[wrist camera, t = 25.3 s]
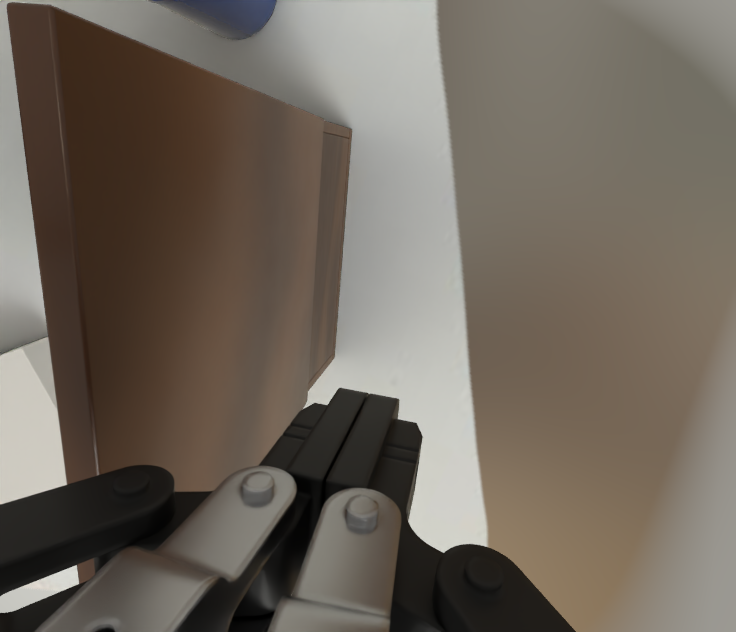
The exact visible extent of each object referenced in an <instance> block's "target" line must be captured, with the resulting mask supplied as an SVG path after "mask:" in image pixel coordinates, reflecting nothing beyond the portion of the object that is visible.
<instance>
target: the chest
mask: <svg viewBox="0 0 736 632" xmlns="http://www.w3.org/2000/svg"><path fill="white" fill-rule="evenodd" d="M351 138H352V129H349V128H346V127H343V126H340V125H337V124H334V123H331V122H327V121H324V129H323V146H322V163H321V180H320V196H319V213H318V230H317V246H316V263H315V280H314V296H313V313H312V330H311V346H310V363H309V380H308V391H309V389H310V388H311V387H312V386H313V384H314V383H315V382H316V381H317V379H318V378H319V377H320V376H321V374H322V373H323V372H324V370H325V369H326V368H327V367H328V365H329V364H330V363H331V362H332V360H333V359H334V357H335V344H336V331H337V318H338V305H339V292H340V280H341V267H342V254H343V241H344V228H345V215H346V202H347V189H348V176H349V164H350V151H351Z"/></svg>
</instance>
